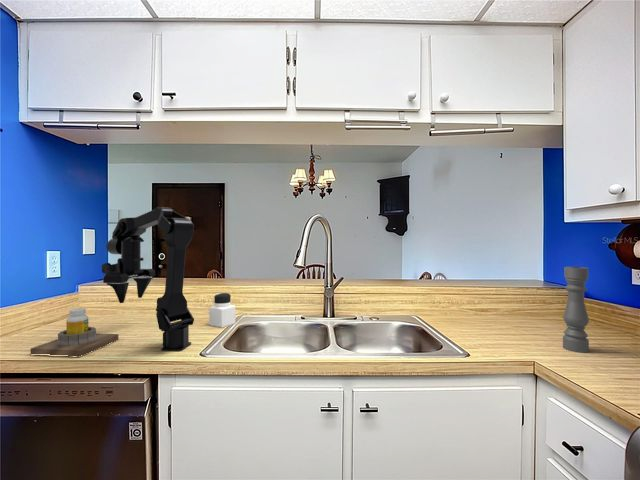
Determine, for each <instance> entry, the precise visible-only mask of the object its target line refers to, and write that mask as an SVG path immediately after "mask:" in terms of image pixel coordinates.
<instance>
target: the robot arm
mask: <svg viewBox="0 0 640 480" xmlns="http://www.w3.org/2000/svg"><path fill="white" fill-rule="evenodd" d="M156 225H157V227H158V228H159V229H161V231H162V237H163V240H164V242H165V243H166V245H167V259H166V261H167V262H166V271H165V272H166V273H165V287H164V288H165V289H164V294H163V295H162V296H161V297H157V299H156V308H155V311H156V314H155V315H156V316H155V317H156V321H157V324H158V329H159V330H161V332H162V347H160V351H178V352H180V351H182V350H184V349H186V348H187V347H189V346H190V345H192V341H189V340H190V339H189V336H190V333H189V326H193V325H194V322H195V318H194V316H193V315H192V313H191V311H190V309H189V308H188V301H187V299H186V297H185V295H184V293H183V291H184V290H183V289H184V278H185V265H186V253H187V250H186V249H187V247H188V246H189V244H190V243H191V241H192V240H193V236H194V229H195V225H194V223H193V221H191V219H189V218H187V217H186V216H184V215H182V214H180V213H178V212H176V211H175V210H174V209H172V208H171V207H166V206H165V207H164V206H157V207H155V208H153V209H152V210H149V211H148V212H145V213H143V214H141V215H138V216H136V217H124V218H123V217H121V218H120V219H119V220H118V222H117V224H116V226H115V228H114V230H113V231H112V233H111V234H112V236H111V239H110V240H108V242H107V243H106V247H105V248H106V250H107V252H108V253H110V254H112V255H121V256H120V257H121V258H118V259H117V263H113V264H111V263H110V262H105V263H103V264H101V273H102V274H104V275H103V277H102V283H103V284H106V285H107V286H110V287H111V288H112V289H113V290H114V293H115V295H116V297H117V300H118V303H119V304H124V302H125V300H126V296H127V292H128V288H129V284H130V283H129V282H128V281H129V279H133V280H134V282H135V283H136V292H137V298H139V299H141V298H143V296H144V294H145V292H146V290H147V288H148V287H149V284H150V283H151V281H152V280H153V279H154V277H155V276H156V270H155V269H153V268H141V267H142V266H141V264H142V263H141V262H142V261H143V262H144V257H141V255H142V254H141V253H142V252H141V251H142V250H141V248H142V247H141V244H142V243H143V242H144V241H145V240H144V238H142V237H141V235H143V234H144V233H146V232H147V229H148V228H151V227H154V226H156Z"/></svg>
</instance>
